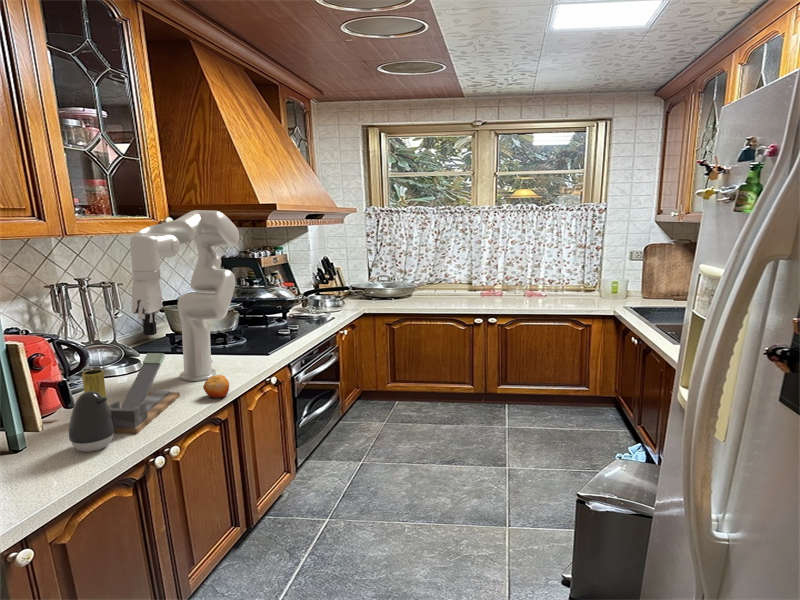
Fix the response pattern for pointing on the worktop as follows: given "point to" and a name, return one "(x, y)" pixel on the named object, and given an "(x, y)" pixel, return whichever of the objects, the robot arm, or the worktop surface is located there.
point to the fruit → (216, 386)
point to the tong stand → (141, 411)
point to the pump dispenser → (91, 423)
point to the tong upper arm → (143, 380)
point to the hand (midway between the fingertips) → (150, 334)
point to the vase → (94, 381)
